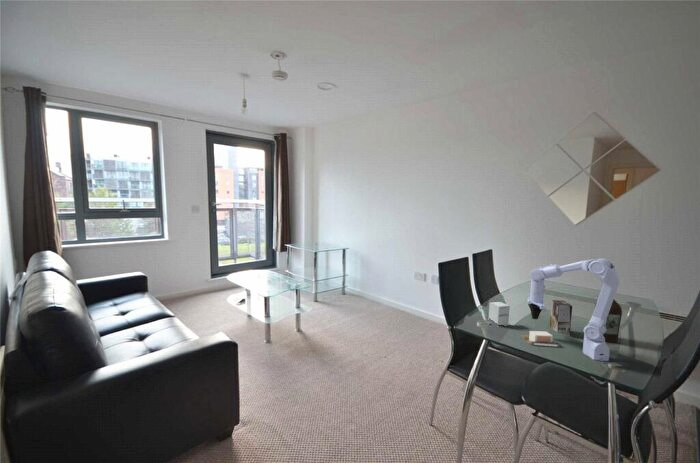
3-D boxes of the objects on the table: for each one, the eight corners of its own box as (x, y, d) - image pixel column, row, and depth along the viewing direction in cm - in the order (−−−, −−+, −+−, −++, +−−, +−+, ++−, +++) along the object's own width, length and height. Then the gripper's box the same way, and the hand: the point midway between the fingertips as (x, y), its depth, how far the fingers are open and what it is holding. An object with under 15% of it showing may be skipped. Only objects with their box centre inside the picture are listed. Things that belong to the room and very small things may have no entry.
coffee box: (570, 336, 157) (573, 305, 156) (556, 335, 158) (559, 304, 157) (562, 329, 166) (564, 300, 165) (548, 328, 167) (551, 299, 166)
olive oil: (589, 332, 162) (593, 286, 159) (614, 336, 158) (618, 289, 155) (596, 341, 152) (600, 292, 150) (622, 345, 148) (628, 295, 146)
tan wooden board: (560, 350, 141) (560, 347, 141) (530, 348, 143) (530, 345, 143) (547, 339, 153) (547, 336, 153) (519, 337, 155) (519, 334, 155)
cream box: (529, 339, 149) (529, 331, 148) (545, 340, 148) (546, 331, 148) (534, 344, 144) (535, 335, 143) (552, 345, 143) (552, 335, 143)
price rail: (559, 347, 141) (559, 344, 141) (531, 345, 143) (532, 342, 143) (558, 346, 142) (558, 343, 142) (530, 344, 144) (531, 341, 144)
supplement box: (497, 329, 165) (498, 306, 163) (487, 324, 172) (489, 302, 170) (508, 328, 167) (510, 305, 165) (498, 322, 174) (500, 301, 172)
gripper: (522, 287, 160) (520, 313, 161) (535, 296, 145) (533, 323, 147) (536, 288, 159) (534, 313, 160) (550, 296, 144) (548, 324, 146)
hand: (534, 318), depth 153 cm, fingers closed
